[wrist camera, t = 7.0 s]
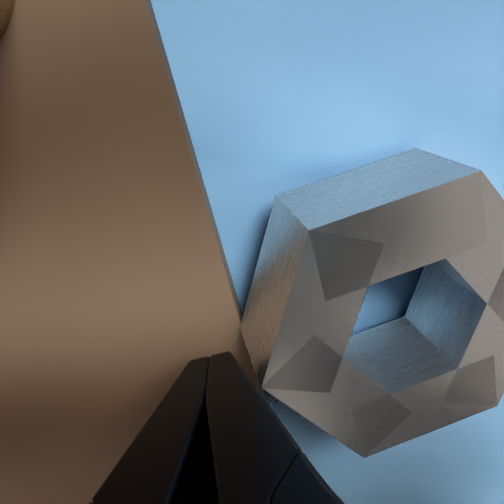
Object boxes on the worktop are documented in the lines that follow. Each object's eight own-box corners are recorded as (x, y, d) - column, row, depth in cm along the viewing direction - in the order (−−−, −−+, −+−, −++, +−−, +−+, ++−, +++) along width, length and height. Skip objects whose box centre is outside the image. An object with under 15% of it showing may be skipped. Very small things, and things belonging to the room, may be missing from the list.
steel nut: (495, 329, 11) (561, 380, 10) (269, 414, 11) (294, 485, 9) (482, 125, 9) (563, 142, 8) (202, 219, 9) (217, 261, 7)
